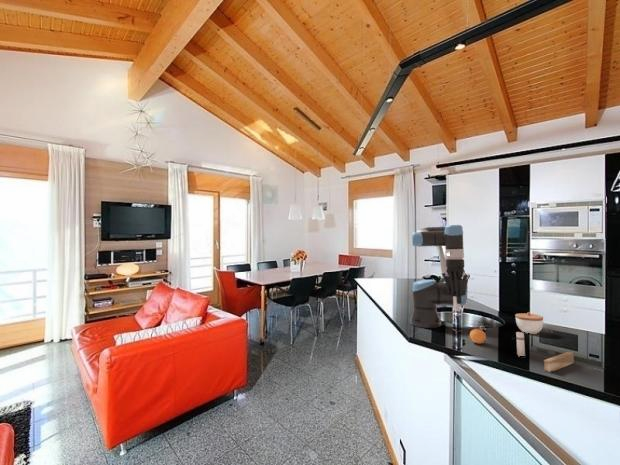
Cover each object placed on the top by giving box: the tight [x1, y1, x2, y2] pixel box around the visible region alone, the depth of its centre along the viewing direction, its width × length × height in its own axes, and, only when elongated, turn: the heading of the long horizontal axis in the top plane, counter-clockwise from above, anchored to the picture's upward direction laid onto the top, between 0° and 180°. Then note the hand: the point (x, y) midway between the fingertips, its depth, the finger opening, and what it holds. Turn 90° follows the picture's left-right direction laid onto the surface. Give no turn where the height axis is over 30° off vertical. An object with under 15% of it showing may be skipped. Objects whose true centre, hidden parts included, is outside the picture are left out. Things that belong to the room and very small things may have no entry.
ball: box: [469, 328, 487, 345], centre depth 128 cm, size 6×6×6 cm
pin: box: [515, 331, 526, 357], centre depth 113 cm, size 2×2×8 cm
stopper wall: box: [543, 351, 575, 373], centre depth 102 cm, size 2×16×4 cm, turn 117°
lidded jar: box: [514, 311, 544, 335], centre depth 142 cm, size 11×11×9 cm
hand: (457, 310), depth 137 cm, fingers closed
